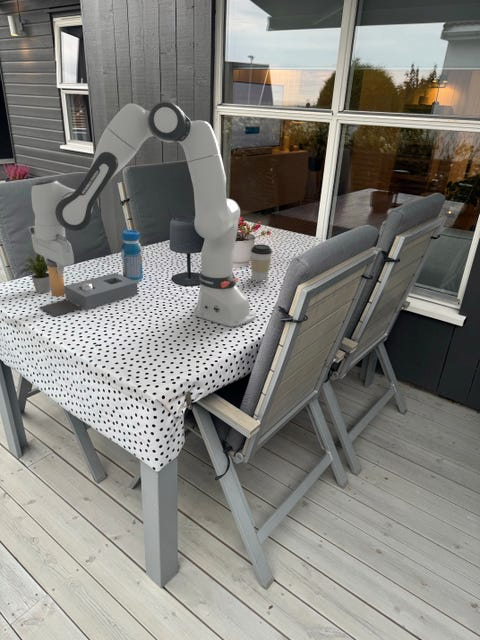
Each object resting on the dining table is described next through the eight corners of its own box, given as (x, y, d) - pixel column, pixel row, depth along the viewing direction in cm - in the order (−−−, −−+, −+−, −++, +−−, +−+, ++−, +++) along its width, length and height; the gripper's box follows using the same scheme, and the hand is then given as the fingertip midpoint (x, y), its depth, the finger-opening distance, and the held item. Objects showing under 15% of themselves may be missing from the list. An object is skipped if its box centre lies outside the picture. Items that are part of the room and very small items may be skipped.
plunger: (89, 295, 167) (88, 281, 165) (95, 298, 165) (94, 284, 163) (81, 298, 165) (79, 284, 162) (86, 301, 163) (85, 286, 160)
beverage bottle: (131, 284, 183) (129, 235, 174) (118, 278, 187) (115, 231, 179) (147, 279, 189) (145, 232, 180) (134, 274, 193) (131, 228, 185)
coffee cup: (270, 276, 200) (272, 243, 194) (269, 283, 192) (272, 249, 186) (249, 274, 201) (252, 242, 194) (248, 281, 193) (250, 247, 186)
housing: (116, 284, 181) (115, 272, 179) (137, 294, 173) (137, 282, 171) (65, 298, 166) (64, 285, 164) (86, 310, 158) (85, 296, 156)
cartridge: (68, 294, 156) (64, 261, 151) (55, 297, 152) (51, 264, 147) (61, 290, 158) (57, 257, 153) (48, 293, 155) (43, 260, 150)
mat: (81, 309, 158) (80, 307, 158) (54, 317, 151) (54, 315, 151) (66, 300, 164) (65, 299, 164) (39, 308, 157) (39, 306, 157)
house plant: (48, 301, 163) (42, 258, 156) (14, 296, 165) (7, 253, 158) (69, 287, 175) (65, 247, 168) (37, 283, 178) (31, 243, 171)
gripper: (76, 236, 142) (80, 278, 148) (44, 224, 154) (49, 262, 160) (58, 240, 138) (63, 282, 144) (26, 226, 150) (32, 266, 156)
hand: (55, 271), depth 152 cm, fingers closed on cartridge, 4 cm apart
